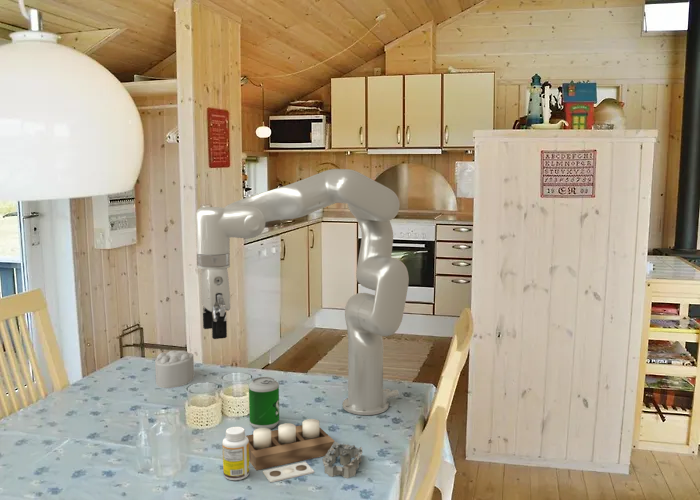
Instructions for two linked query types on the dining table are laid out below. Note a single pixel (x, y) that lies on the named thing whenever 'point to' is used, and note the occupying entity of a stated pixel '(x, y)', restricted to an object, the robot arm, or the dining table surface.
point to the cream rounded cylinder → (262, 438)
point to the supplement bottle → (235, 454)
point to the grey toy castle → (342, 460)
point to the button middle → (287, 433)
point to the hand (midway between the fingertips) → (214, 333)
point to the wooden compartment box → (288, 450)
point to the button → (311, 429)
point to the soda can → (264, 403)
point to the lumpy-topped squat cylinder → (174, 369)
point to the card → (288, 472)
